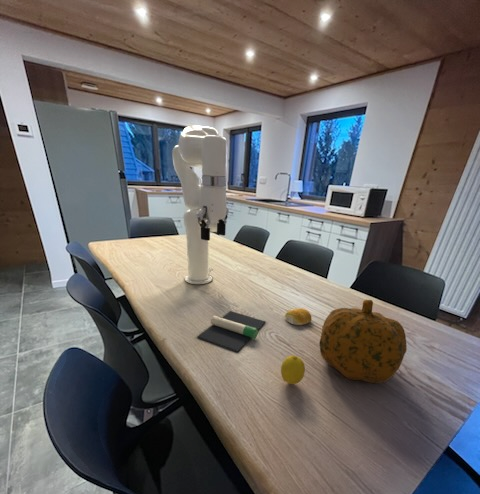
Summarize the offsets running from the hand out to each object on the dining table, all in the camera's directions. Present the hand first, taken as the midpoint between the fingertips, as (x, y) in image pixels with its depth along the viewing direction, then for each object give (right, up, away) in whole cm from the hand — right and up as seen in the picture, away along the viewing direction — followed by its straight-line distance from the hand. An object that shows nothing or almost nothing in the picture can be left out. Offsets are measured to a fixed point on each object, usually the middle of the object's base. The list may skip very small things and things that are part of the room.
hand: (213, 237), depth 90 cm
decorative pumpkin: (+40, -40, -19) cm, 60 cm away
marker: (+8, -31, -5) cm, 32 cm away
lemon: (+21, -42, -26) cm, 54 cm away
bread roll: (+29, -29, +3) cm, 41 cm away
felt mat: (+7, -31, -5) cm, 32 cm away
